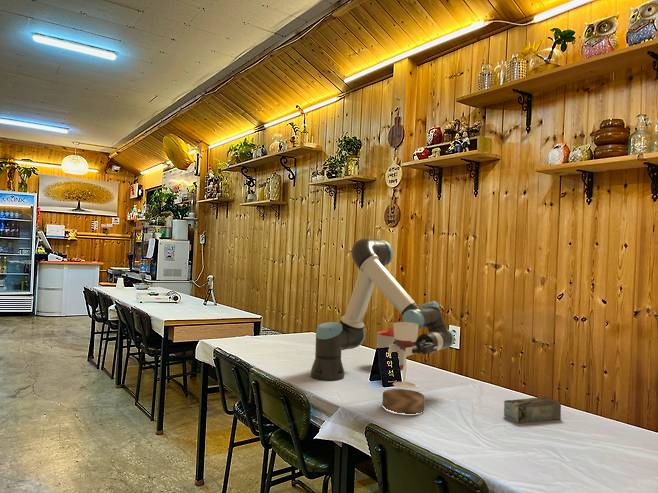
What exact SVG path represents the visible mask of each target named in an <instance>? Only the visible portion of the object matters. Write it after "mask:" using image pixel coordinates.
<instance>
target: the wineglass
mask: <svg viewBox="0 0 658 493" xmlns="http://www.w3.org/2000/svg"><path fill="white" fill-rule="evenodd" d="M393 327H394V339H395V342H396V344H397V346H398V347H400V348H401V349H403V350H404V367H403V368H402V369H403V370H402V371H403V376H402V377H403V378H402V381H395V382H393V383H392V385H393V386H395V387H397V388H400V389H412V388H415V387H416V384H415V383H413V382H408V381H406V376H407V375H406V373H407V372H406V371H407V369H406V368H407V357H406V356H405V348H408V347H412V346H414V345H415V343H416V340H417V338H418V334H419V329H418V324H416V323H410V322H403V321H398V322H393Z"/></svg>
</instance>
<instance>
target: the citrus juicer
mask: <svg viewBox="0 0 658 493" xmlns="http://www.w3.org/2000/svg"><path fill="white" fill-rule="evenodd" d="M394 341H395V339H394V326H391V327H390V328H389V329H388V330H379V331H376V349H377V348H383V347H389V345H391V344H393V342H394ZM397 353H398V357H399V363H400V368H401V369H400V370H402V369H404V350H403V349H401V350H400V351H399V352H397ZM407 357H408V356H406V358H407Z"/></svg>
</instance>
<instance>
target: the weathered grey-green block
mask: <svg viewBox="0 0 658 493" xmlns="http://www.w3.org/2000/svg"><path fill="white" fill-rule="evenodd" d="M503 402H504V403H503V416H505V418H506V417H507V418H506V419H508V418H509V420H510V419H511V420H510V421H512V420H513V422H514V421H515V422H514V423H517V424H526V423H534V422H542V421H544V422H545V421H552V420H560V419H562V413H561V412H562V402H561V401H560V400H556V399H554V398H551V397H548V396H539V397H531V398H521V399H510V400H509V399H508V400H507V399H506V400H504V401H503Z"/></svg>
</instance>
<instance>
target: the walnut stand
mask: <svg viewBox="0 0 658 493" xmlns="http://www.w3.org/2000/svg"><path fill="white" fill-rule="evenodd" d="M425 397H426V396H425V395H424V394H423V393H421V392H419V391H416V390H413V389H412V390H411V389H407V388H392V389H387V390H386V389H385V390H384V391H383V392H382V402H381V403H382V405H383V406H384V407H385V408H386V409H388V410H391V411H394V412H397V413H405V414H416V413H421V412H423V411H424V412H425ZM382 405H381V406H382ZM424 412H423V413H424Z"/></svg>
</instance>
